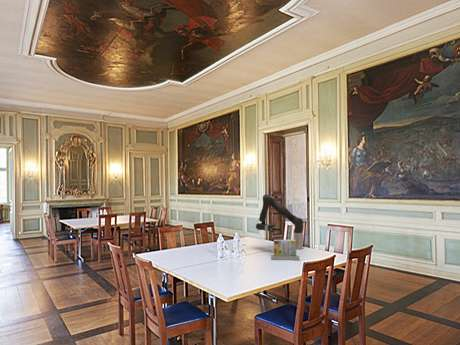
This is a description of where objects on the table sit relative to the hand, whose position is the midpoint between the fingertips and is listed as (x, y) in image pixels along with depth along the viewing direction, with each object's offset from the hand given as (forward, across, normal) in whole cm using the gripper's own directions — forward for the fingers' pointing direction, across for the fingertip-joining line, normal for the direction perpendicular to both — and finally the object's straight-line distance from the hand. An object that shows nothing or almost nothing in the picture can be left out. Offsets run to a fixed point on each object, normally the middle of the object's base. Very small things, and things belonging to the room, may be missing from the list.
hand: (280, 229), depth 321 cm
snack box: (+8, -2, +24) cm, 25 cm away
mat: (+17, -10, +24) cm, 31 cm away
